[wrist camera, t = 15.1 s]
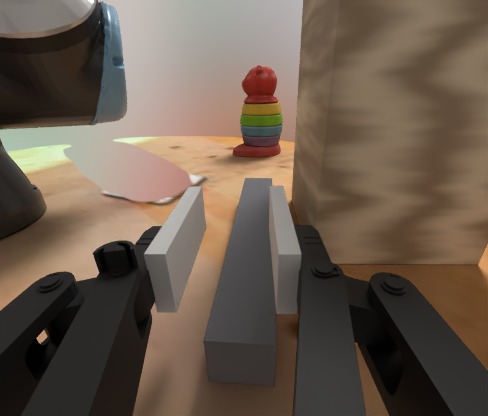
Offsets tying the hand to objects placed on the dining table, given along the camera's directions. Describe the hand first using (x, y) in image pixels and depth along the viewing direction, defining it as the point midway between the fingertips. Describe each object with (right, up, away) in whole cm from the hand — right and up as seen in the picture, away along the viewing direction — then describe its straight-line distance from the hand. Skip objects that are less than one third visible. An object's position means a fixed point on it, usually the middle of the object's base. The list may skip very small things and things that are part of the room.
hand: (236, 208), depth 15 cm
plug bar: (+1, -4, +10) cm, 11 cm away
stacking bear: (+4, +13, +46) cm, 48 cm away
